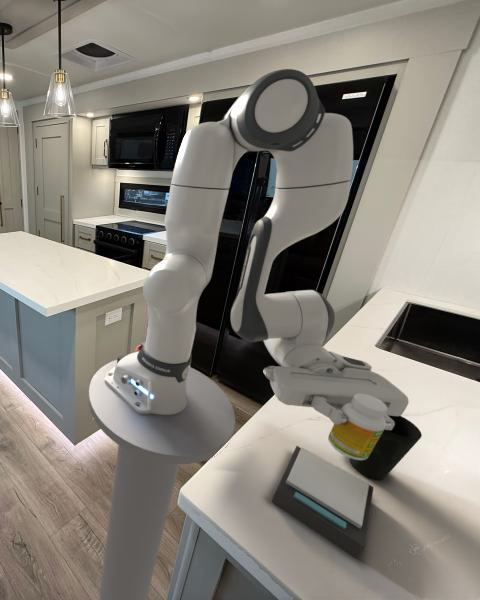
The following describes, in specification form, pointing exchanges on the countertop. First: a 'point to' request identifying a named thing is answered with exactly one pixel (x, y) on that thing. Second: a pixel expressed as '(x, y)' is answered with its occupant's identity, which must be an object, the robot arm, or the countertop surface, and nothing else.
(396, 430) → the cup
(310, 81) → the robot arm
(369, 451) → the supplement bottle
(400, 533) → the countertop surface
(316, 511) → the kitchen scale
